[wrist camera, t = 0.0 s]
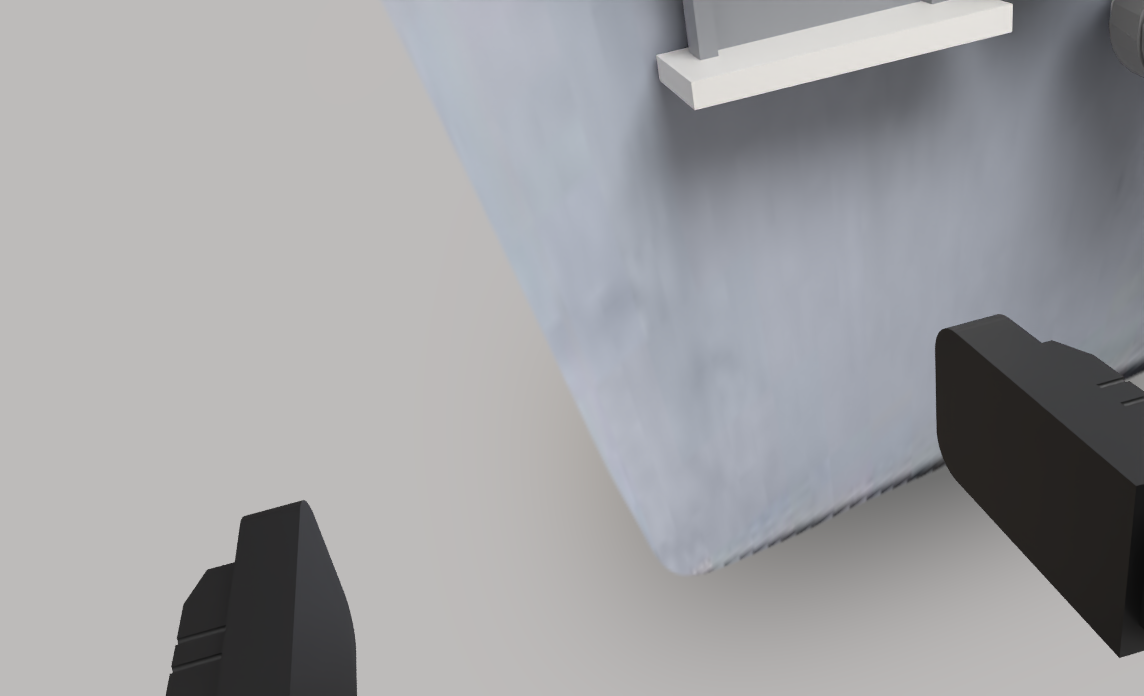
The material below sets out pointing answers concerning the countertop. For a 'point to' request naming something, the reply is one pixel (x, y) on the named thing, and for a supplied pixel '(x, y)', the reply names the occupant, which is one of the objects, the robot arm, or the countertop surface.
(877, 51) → the tray
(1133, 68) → the light bulb
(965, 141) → the countertop surface
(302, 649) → the robot arm
